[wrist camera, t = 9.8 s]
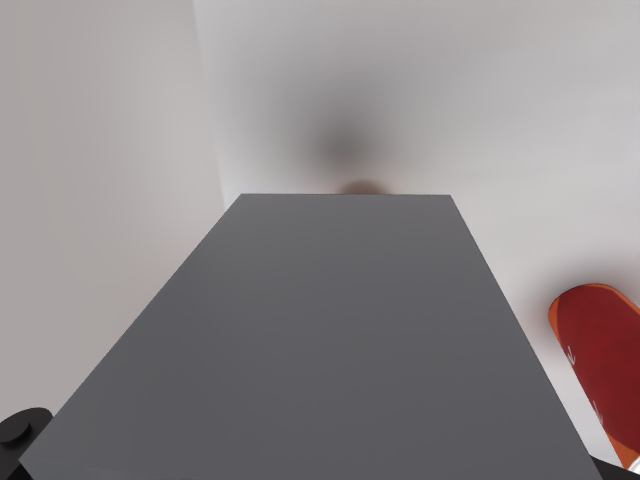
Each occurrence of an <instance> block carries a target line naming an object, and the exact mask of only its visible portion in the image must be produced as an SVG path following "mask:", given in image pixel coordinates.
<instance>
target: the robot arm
mask: <svg viewBox="0 0 640 480" xmlns="http://www.w3.org/2000/svg"><path fill="white" fill-rule="evenodd" d="M53 418H54V417H53V416H52V414H51V413H50V411H49V410H47V409H45V408H30V409H27V410H23V411H20V412H18V413H16V414H14V415H12V416H10V417H8V418H7V419H5V420H4V421H2V422H1V423H0V480H34V479H33V478H32V477H31V475H30V474H29V473H28V472H27V470H26V469H25V468H24V466H23V465H22V464H21V463H20V461H19V460H18V459H19V458H20V457H21V456H22V455H23V453H24V452H25V451H26V450H27V449H28V447H29V446H30V445H31V444H32V443H33V441H34V440H35V439H36V438H37V437H38V436H39V434H40V433H41V432H42V431H43V430H44V428H45V427H46V426H47V425H48V424H49V422H50V421H51V420H52V419H53ZM590 457H591V459H592V460H593V462H594V464H595V466H596V468H597V470H598V472H599V474H600V475H601V477H602V479H603V480H640V474H637V473H634V472H632V471H629V470H626V469H623V468H621V467H618V466H615V465H612V464H609V463H607V462H604V461H602V460H599V459H597V458H595V457H593V456H591V455H590Z"/></svg>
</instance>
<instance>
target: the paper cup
mask: <svg viewBox="0 0 640 480" xmlns="http://www.w3.org/2000/svg"><path fill="white" fill-rule="evenodd" d="M549 321H550V324H551V326H552V328H553V331H554V333H555V335H556V337H557V339H558V341H559V343H560V345H561V347H562V349H563V351H564V353H565V355H566V357H567V359H568V361H569V363H570V364H571V366H572V368H573V370H574V372H575V374H576V376H577V378H578V380H579V382H580V384H581V386H582V388H583V390H584V392H585V394H586V396H587V397H588V399H589V401H590V403H591V405H592V407H593V409H594V411H595V413H596V415H597V417H598V419H599V421H600V423H601V425H602V426H603V428H604V430H605V432H606V434H607V436H608V438H609V440H610V442H611V444H612V446H613V448H614V450H615V452H616V454H617V455H618V457H619V459H620V461H621V463H622V465H623V467H624V469H626V470H629V471H632V472H634V473H637V474H640V309H639V308H638V307H637V306H636V305H635V304H633V303H632V302H631V301H630V300H629V299H628V298H626V297H625V296H624V295H623V294H621V293H620V292H619V291H617V290H616V289H614V288H612V287H610V286H607V285H602V284H587V285H582V286H578V287H575V288H573V289H570V290H568V291H566V292H565V293H563V294H562V295H560V296H559V297H558V298H557V299H556V300H555V301H554V302H553V304H552V305H551V307H550V310H549Z"/></svg>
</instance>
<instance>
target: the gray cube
mask: <svg viewBox="0 0 640 480" xmlns="http://www.w3.org/2000/svg"><path fill="white" fill-rule="evenodd" d="M18 460H19V461H20V463H21V464H22V465H23V466H24V468H25V469H26V470H27V472H28V473H29V474H30V475H31V477H32V478H33V479H34V480H603V479H602V477H601V475H600V474H599V472H598V470H597V468H596V466H595V464H594V462H593V460H592V459H591V457H590V455H589V453H588V451H587V449H586V447H585V446H584V444H583V442H582V440H581V438H580V436H579V434H578V432H577V431H576V429H575V427H574V425H573V423H572V421H571V419H570V417H569V416H568V414H567V412H566V410H565V408H564V406H563V404H562V403H561V401H560V399H559V397H558V395H557V393H556V391H555V389H554V388H553V386H552V384H551V382H550V380H549V378H548V376H547V375H546V373H545V371H544V369H543V367H542V365H541V363H540V361H539V360H538V358H537V356H536V354H535V352H534V350H533V348H532V347H531V345H530V343H529V341H528V339H527V337H526V335H525V333H524V332H523V330H522V328H521V326H520V324H519V322H518V320H517V319H516V317H515V315H514V313H513V311H512V309H511V307H510V305H509V304H508V302H507V300H506V298H505V296H504V294H503V292H502V291H501V289H500V287H499V285H498V283H497V281H496V279H495V277H494V276H493V274H492V272H491V270H490V268H489V266H488V264H487V263H486V261H485V259H484V257H483V255H482V253H481V251H480V249H479V248H478V246H477V244H476V242H475V240H474V238H473V236H472V235H471V233H470V231H469V229H468V227H467V225H466V223H465V221H464V220H463V218H462V216H461V214H460V212H459V210H458V208H457V207H456V205H455V203H454V201H453V199H452V197H451V195H391V194H240V196H239V197H238V198H237V199H236V200H235V202H234V203H233V204H232V205H231V206H230V208H229V209H228V210H227V211H226V212H225V214H224V215H223V216H222V217H221V218H220V220H219V221H218V222H217V223H216V224H215V225H214V227H213V228H212V229H211V230H210V231H209V233H208V234H207V235H206V236H205V238H204V239H203V240H202V241H201V242H200V243H199V245H198V246H197V247H196V248H195V249H194V251H193V252H192V253H191V254H190V255H189V256H188V258H187V259H186V260H185V261H184V263H183V264H182V265H181V266H180V267H179V268H178V270H177V271H176V272H175V273H174V274H173V276H172V277H171V278H170V279H169V280H168V282H167V283H166V284H165V285H164V287H163V288H162V289H161V290H160V291H159V292H158V293H157V295H156V296H155V297H154V298H153V300H152V301H151V302H150V303H149V304H148V305H147V307H146V308H145V309H144V310H143V311H142V313H141V314H140V315H139V316H138V317H137V319H136V320H135V321H134V322H133V323H132V325H131V326H130V327H129V328H128V329H127V330H126V332H125V333H124V334H123V335H122V337H121V338H120V339H119V340H118V341H117V343H116V344H115V345H114V346H113V347H112V348H111V350H110V351H109V352H108V353H107V354H106V356H105V357H104V358H103V359H102V360H101V362H100V363H99V364H98V365H97V366H96V367H95V369H94V370H93V371H92V372H91V373H90V375H89V376H88V377H87V378H86V379H85V381H84V382H83V383H82V384H81V385H80V387H79V388H78V389H77V390H76V391H75V393H74V394H73V395H72V396H71V398H70V399H69V400H68V401H67V402H66V403H65V405H64V406H63V407H62V408H61V409H60V411H59V412H58V413H57V414H56V415H55V416H54V418H53V419H52V420H51V421H50V422H49V424H48V425H47V426H46V427H45V428H44V430H43V431H42V432H41V433H40V434H39V436H38V437H37V438H36V439H35V440H34V441H33V443H32V444H31V445H30V446H29V447H28V449H27V450H26V451H25V452H24V453H23V455H22V456H21V457H20V458H19V459H18Z"/></svg>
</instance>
